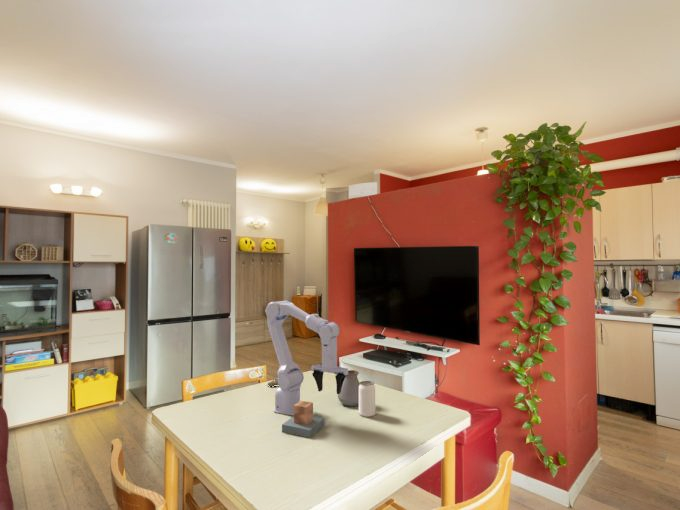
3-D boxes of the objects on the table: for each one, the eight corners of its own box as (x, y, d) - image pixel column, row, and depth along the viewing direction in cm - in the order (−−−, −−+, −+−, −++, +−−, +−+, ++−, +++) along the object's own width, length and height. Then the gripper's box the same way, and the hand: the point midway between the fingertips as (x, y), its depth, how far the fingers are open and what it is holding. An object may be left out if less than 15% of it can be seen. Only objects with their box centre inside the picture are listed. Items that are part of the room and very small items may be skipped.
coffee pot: (369, 400, 157) (368, 365, 158) (358, 409, 147) (357, 372, 148) (325, 393, 167) (325, 360, 167) (312, 401, 157) (312, 366, 157)
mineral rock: (280, 376, 187) (289, 375, 181) (282, 385, 186) (291, 384, 181) (262, 381, 179) (271, 380, 174) (264, 390, 178) (273, 389, 173)
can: (374, 418, 139) (374, 386, 139) (357, 416, 140) (357, 385, 141) (376, 411, 145) (375, 380, 146) (360, 410, 146) (359, 380, 147)
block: (293, 422, 129) (293, 405, 129) (300, 417, 133) (300, 400, 134) (306, 425, 127) (306, 407, 127) (313, 419, 131) (313, 402, 132)
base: (281, 431, 127) (281, 424, 127) (297, 419, 137) (297, 413, 137) (309, 437, 123) (309, 430, 123) (324, 424, 133) (324, 417, 133)
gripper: (307, 356, 137) (307, 392, 137) (342, 359, 131) (343, 398, 131) (315, 352, 144) (316, 387, 143) (350, 355, 138) (350, 391, 137)
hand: (329, 392), depth 137 cm, fingers open, 7 cm apart
